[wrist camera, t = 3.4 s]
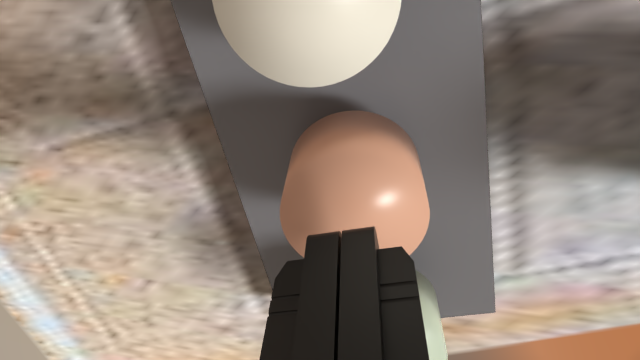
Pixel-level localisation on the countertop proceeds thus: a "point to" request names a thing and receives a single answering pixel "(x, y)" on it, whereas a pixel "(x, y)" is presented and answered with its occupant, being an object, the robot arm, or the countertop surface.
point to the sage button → (431, 319)
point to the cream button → (307, 36)
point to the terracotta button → (355, 182)
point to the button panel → (380, 98)
